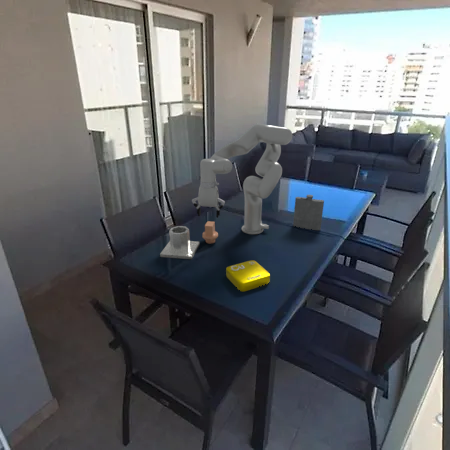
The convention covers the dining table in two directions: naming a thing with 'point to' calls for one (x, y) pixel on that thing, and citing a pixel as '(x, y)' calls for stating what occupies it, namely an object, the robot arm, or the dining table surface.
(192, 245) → the hex socket plate
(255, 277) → the element tile
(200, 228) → the dining table surface
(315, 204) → the hip flask
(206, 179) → the robot arm
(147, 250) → the dining table surface
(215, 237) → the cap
